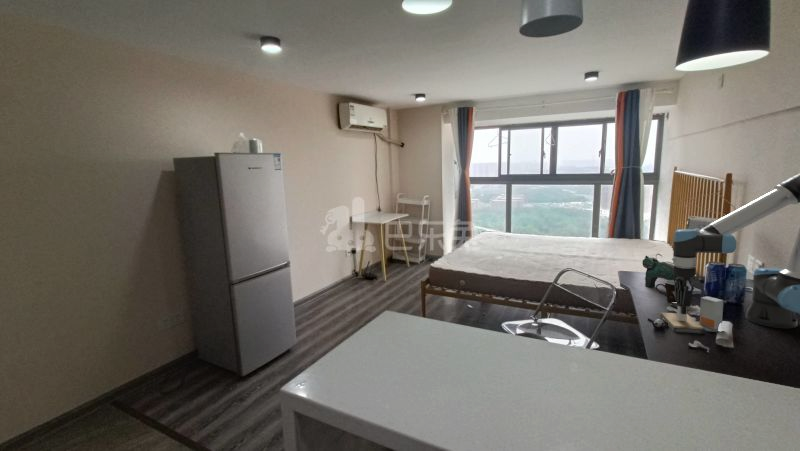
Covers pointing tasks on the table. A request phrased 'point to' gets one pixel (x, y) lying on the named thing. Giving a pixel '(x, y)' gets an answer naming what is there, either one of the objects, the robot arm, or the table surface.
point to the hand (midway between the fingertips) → (681, 320)
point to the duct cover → (681, 324)
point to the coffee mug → (669, 290)
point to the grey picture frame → (684, 329)
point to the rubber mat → (708, 328)
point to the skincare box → (711, 312)
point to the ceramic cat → (657, 270)
